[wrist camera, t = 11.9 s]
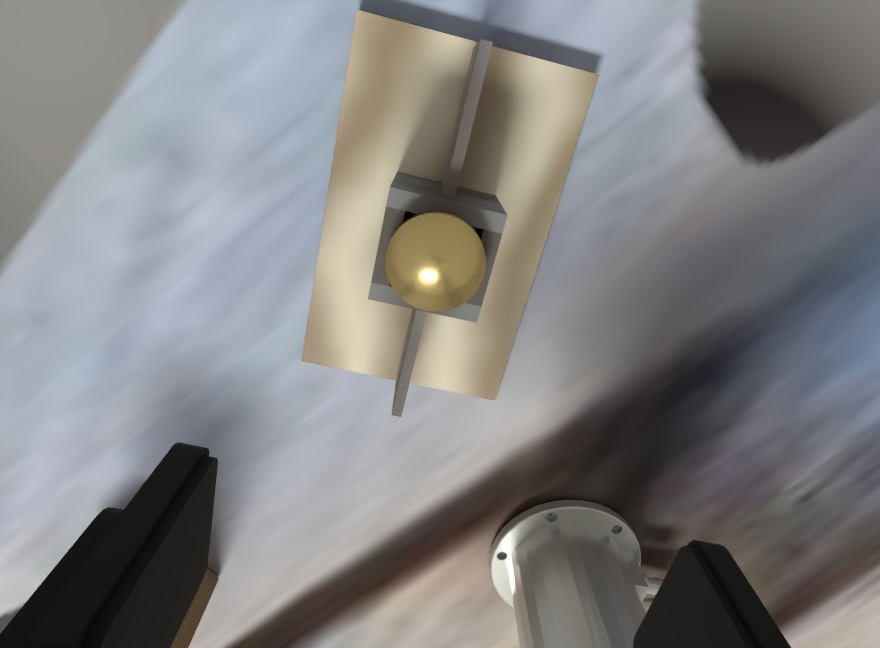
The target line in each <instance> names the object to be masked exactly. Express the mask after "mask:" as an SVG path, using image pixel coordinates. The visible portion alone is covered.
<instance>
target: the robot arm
mask: <svg viewBox="0 0 880 648" xmlns="http://www.w3.org/2000/svg"><path fill="white" fill-rule="evenodd" d="M217 465H218V460H217V458H214V457H209V450H208V448H204V447H199V446H194V445H188V444H183V443H176V444H174V445H173V446H172V448H171V449H170V450H169V452H168V453H167V454H166V456H165V457H164V458H163V459H162V461H161V462H160V463H159V465H158V466H157V467H156V469H155V470H154V471H153V473H152V474H151V475H150V476H149V478H148V479H147V480H146V482H145V483H144V484H143V486H142V487H141V488H140V490H139V491H138V492H137V493H136V495H135V496H134V497H133V499H132V500H131V501H130V503H129V504H128V505H127V507H126V508H125V509H124V510H122V509H116V508H111V507H108V508H106V509H104V510H102V511H101V512H100V513H99V514H98V515H97V517H96V518H95V519H94V520H93V521H92V523H91V524H90V525H89V526H88V527H87V529H86V530H85V531H84V532H83V534H82V535H81V536H80V537H79V538H78V540H77V541H76V542H75V543H74V544H73V546H72V547H71V548H70V549H69V551H68V552H67V553H66V554H65V555H64V557H63V558H62V559H61V560H60V562H59V563H58V564H57V565H56V566H55V568H54V569H53V570H52V571H51V573H50V574H49V575H48V576H47V577H46V579H45V580H44V581H43V582H42V584H41V585H40V586H39V587H38V588H37V590H36V591H35V592H34V593H33V595H32V596H31V597H30V598H29V599H28V601H27V602H26V603H25V604H24V606H23V607H22V608H21V609H20V610H19V612H18V613H17V614H16V615H15V617H14V618H13V619H12V620H11V621H10V623H9V624H8V625H7V626H6V628H5V629H4V630H3V631H2V633H1V634H0V648H170V647H171V645H172V643H173V641H174V639H175V637H176V635H177V632H178V630H179V628H180V626H181V624H182V622H183V620H184V618H185V616H186V614H187V612H188V610H189V608H190V606H191V604H192V602H193V600H194V598H195V596H196V594H197V591H198V589H199V587H200V585H201V583H202V581H203V578H204V575H205V572H206V568H207V563H208V554H209V544H210V534H211V524H212V514H213V504H214V494H215V484H216V475H217ZM489 565H490V574H491V579H492V583H493V585H494V587H495V589H496V591H497V593H498V594H499V595H500V596H501V598H502V599H503V600H504V601H505V602H506V603H508V604H509V605H510V606H511V607H513V608H514V609H515V616H516V622H517V629H518V635H519V641H520V648H791V647H790V645H789V644H788V642H787V641H786V639H785V638H784V636H783V634H782V633H781V631H780V630H779V628H778V627H777V625H776V624H775V622H774V621H773V619H772V618H771V616H770V614H769V613H768V611H767V610H766V608H765V607H764V605H763V604H762V602H761V601H760V599H759V597H758V596H757V594H756V593H755V591H754V590H753V588H752V587H751V585H750V584H749V582H748V580H747V579H746V577H745V576H744V574H743V573H742V571H741V570H740V568H739V567H738V565H737V564H736V562H735V560H734V559H733V557H732V556H731V554H730V553H729V551H728V550H727V549H726V548H725V547H724V546H722V545H718V544H713V543H708V542H703V541H697V540H693V541H691V542H690V543H689V544H688V545H687V546H683V547H681V549H680V550H679V552H678V554H677V556H676V557H675V559H674V561H673V563H672V565H671V567H670V569H669V571H668V573H667V575H666V577H665V578H664V579H660V578H649V577H647V576H646V574H644V573H643V572H642V571H641V569H640V566H641V551H640V546H639V543H638V540H637V538H636V536H635V534H634V531H633V530H632V528H631V527H630V525H629V524H628V522H627V521H626V520H624V519H623V518H622V517H621V516H620V515H619V514H618V513H616V512H614V511H613V510H611V509H609V508H608V507H605V506H602V505H600V504H597V503H594V502H588V501H583V500H559V501H551V502H548V503H544V504H540V505H537V506H535V507H532V508H530V509H528V510H526V511H524V512H522V513H521V514H519V515H518V516H516V517H515V518H513V519H512V520H511V521H510V522H509V523H507V524H506V525H505V526H504V527H503V528H502V530H501V531H500V532H499V534H498V535H497V537H496V538H495V540H494V543H493V545H492V547H491V551H490V557H489ZM646 594H653V595H654V596H655V598H653V597H650V598H645V596H646Z"/></svg>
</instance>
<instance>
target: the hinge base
mask: <svg viewBox="0 0 880 648" xmlns="http://www.w3.org/2000/svg"><path fill="white" fill-rule="evenodd" d="M492 44H493V42H491V41H487V40H483V39H480V40H479V42H476V41H472V40H468V39H465V38H461V37H457V36H453V35H450V34H446V33H442V32H439V31H435V30H431V29H427V28H424V27H420V26H416V25H413V24H409V23H405V22H401V21H398V20H394V19H390V18H387V17H383V16H379V15H375V14H372V13H368V12H364V11H361V10H357V9H356V16H355V22H354V28H353V35H352V41H351V48H350V54H349V60H348V67H347V73H346V80H345V86H344V92H343V99H342V105H341V112H340V118H339V124H338V131H337V137H336V144H335V150H334V157H333V163H332V169H331V176H330V182H329V189H328V195H327V201H326V208H325V214H324V221H323V227H322V233H321V240H320V246H319V253H318V259H317V265H316V272H315V278H314V285H313V291H312V298H311V304H310V310H309V317H308V323H307V330H306V336H305V342H304V349H303V355H302V361H303V362H308V363H313V364H318V365H323V366H328V367H333V368H338V369H343V370H348V371H353V372H358V373H362V374H367V375H372V376H377V377H382V378H387V379H392V380H396V386H395V394H394V401H393V409H392V415H394V416H399V417H401V415H402V411H403V407H404V403H405V399H406V395H407V391H408V387H409V383H412V384H417V385H421V386H426V387H431V388H436V389H441V390H446V391H451V392H456V393H461V394H466V395H471V396H476V397H480V398H485V399H490V400H495V399H496V396H497V393H498V390H499V387H500V383H501V380H502V377H503V374H504V371H505V368H506V365H507V361H508V358H509V355H510V352H511V349H512V346H513V343H514V339H515V336H516V333H517V330H518V327H519V324H520V321H521V317H522V314H523V311H524V308H525V305H526V302H527V299H528V295H529V292H530V289H531V286H532V283H533V280H534V277H535V273H536V270H537V267H538V264H539V261H540V258H541V255H542V252H543V248H544V245H545V242H546V239H547V236H548V233H549V230H550V226H551V223H552V220H553V217H554V214H555V211H556V208H557V204H558V201H559V198H560V195H561V192H562V189H563V186H564V182H565V179H566V176H567V173H568V170H569V167H570V164H571V160H572V157H573V154H574V151H575V148H576V145H577V142H578V139H579V135H580V132H581V129H582V126H583V123H584V120H585V117H586V113H587V110H588V107H589V104H590V101H591V98H592V95H593V91H594V88H595V85H596V82H597V79H598V76H599V75H598V74H594V73H591V72H587V71H583V70H580V69H576V68H572V67H568V66H565V65H561V64H557V63H554V62H550V61H546V60H542V59H539V58H535V57H531V56H528V55H524V54H520V53H516V52H513V51H509V50H505V49H502V48H498V47H494V46H492ZM431 210H441V211H447V212H450V213H454V214H456V215H458V216H460V217H461V218H463V219H465V220H466V221H467V222H468V223H470V224H471V226H472V227H473V228H474V229H475V230H476V232H477V233H478V235H479V237H480V239H481V241H482V244H483V247H484V251H485V255H486V270H485V275H484V278H483V281H482V283H481V285H480V287H479V288H478V290H477V291H476V293H475V294H474V295H473V296H472V297H471V298H470V299H469V300H468V301H466V302H465V303H463V304H462V305H460V306H458V307H456V308H453V309H450V310H445V311H426V310H422V309H418V308H416V307H414V306H412V305H410V304H408V303H407V302H405V301H404V300H403V299H401V298H400V297H399V296H398V295H397V293H396V292H395V291H394V289H393V288H392V286H391V284H390V282H389V280H388V277H387V273H386V267H385V259H386V252H387V249H388V245H389V242H390V240H391V237H392V235H393V234H394V232H395V231H396V229H397V228H398V227H399V226H400V225H401V224H402V223H403V222H404V221H405V220H407V219H408V218H410V217H412V216H413V215H415V214H418V213H421V212H425V211H431Z"/></svg>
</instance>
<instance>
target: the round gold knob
mask: <svg viewBox="0 0 880 648" xmlns="http://www.w3.org/2000/svg"><path fill="white" fill-rule="evenodd" d="M385 267H386V273H387V277H388V280H389V282H390V284H391V286H392V288H393V289H394V291H395V292H396V293H397V295H398V296H399V297H400V298H401V299H403V300H404V301H405V302H407V303H408V304H410V305H412V306H414V307H416V308H418V309H422V310H426V311H445V310H450V309H453V308H456V307H458V306H460V305H462V304H463V303H465V302H466V301H468V300H469V299H470V298H471V297H472V296H473V295H474V294H475V293H476V291H477V290H478V288H479V287H480V285H481V283H482V281H483V278H484V275H485V270H486V255H485V251H484V247H483V244H482V241H481V239H480V237H479V235H478V233H477V232H476V230H475V229H474V228H473V227H472V226H471V224H470V223H468V222H467V221H466V220H465V219H463V218H461V217H460V216H458V215H456V214H454V213H450V212H447V211H441V210H431V211H425V212H421V213H418V214H415V215H413V216H412V217H410V218H408V219H407V220H405V221H404V222H403V223H402V224H401V225H400V226H399V227H398V228H397V229H396V231H395V232H394V234H393V235H392V237H391V240H390V242H389V245H388V249H387V252H386V259H385Z"/></svg>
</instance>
